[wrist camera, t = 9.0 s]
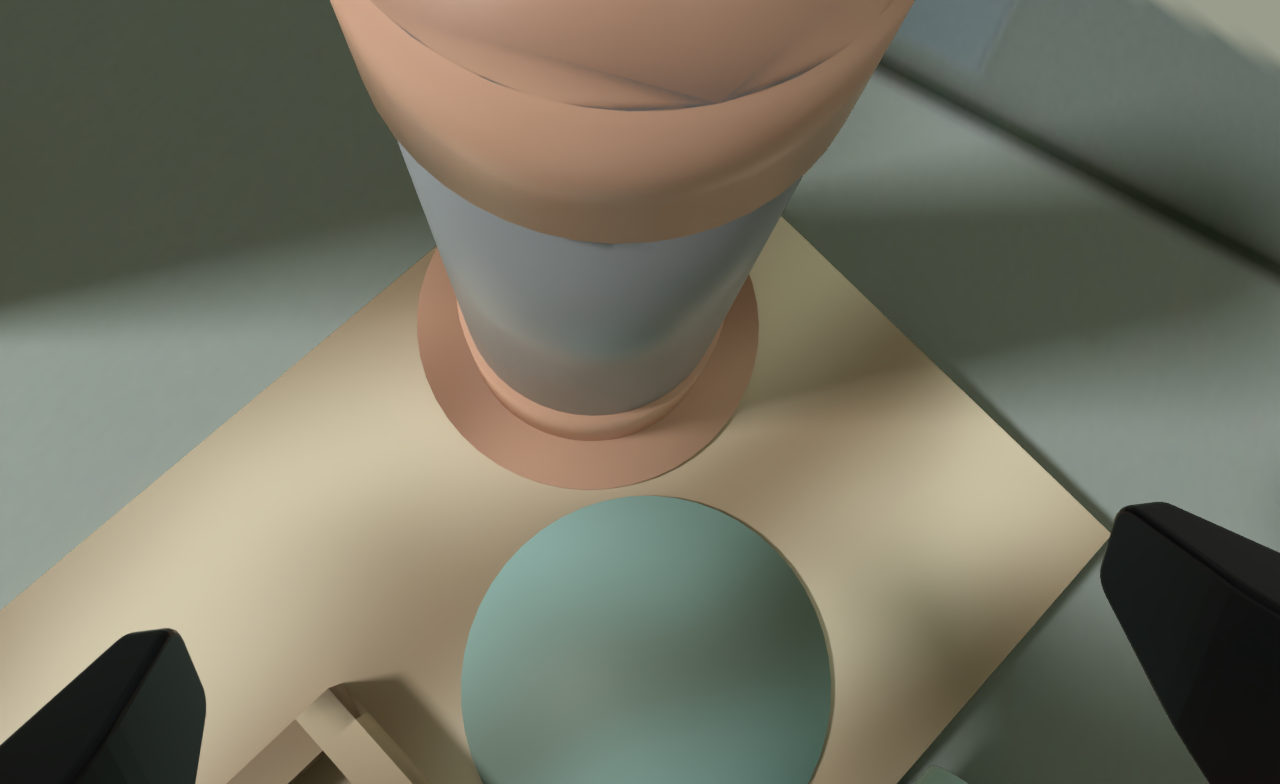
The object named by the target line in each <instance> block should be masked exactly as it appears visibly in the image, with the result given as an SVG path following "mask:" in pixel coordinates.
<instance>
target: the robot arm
mask: <svg viewBox="0 0 1280 784" xmlns="http://www.w3.org/2000/svg"><path fill="white" fill-rule="evenodd" d="M1100 578H1101V584H1102V587H1103V590H1104V593H1105V595H1106V597H1107V599H1108V601H1109V603H1110V605H1111V607H1112V609H1113V611H1114V613H1115V615H1116V617H1117V619H1118V621H1119V622H1120V624H1121V626H1122V628H1123V630H1124V632H1125V634H1126V636H1127V638H1128V640H1129V642H1130V644H1131V646H1132V648H1133V650H1134V652H1135V654H1136V656H1137V658H1138V660H1139V661H1140V663H1141V665H1142V667H1143V669H1144V671H1145V673H1146V675H1147V677H1148V679H1149V681H1150V683H1151V685H1152V687H1153V689H1154V691H1155V693H1156V695H1157V697H1158V699H1159V701H1160V702H1161V704H1162V706H1163V708H1164V710H1165V712H1166V714H1167V715H1168V717H1169V719H1170V721H1171V723H1172V724H1173V726H1174V728H1175V730H1176V731H1177V733H1178V735H1179V736H1180V738H1181V740H1182V741H1183V743H1184V744H1185V746H1186V748H1187V749H1188V751H1189V753H1190V754H1191V756H1192V757H1193V759H1194V760H1195V762H1196V763H1197V765H1198V767H1199V768H1200V770H1201V771H1202V773H1203V774H1204V776H1205V777H1206V779H1207V781H1208V782H1209V784H1280V553H1279V552H1277V551H1274V550H1272V549H1270V548H1268V547H1265V546H1263V545H1261V544H1259V543H1256V542H1254V541H1252V540H1250V539H1247V538H1245V537H1243V536H1241V535H1239V534H1236V533H1234V532H1232V531H1230V530H1227V529H1225V528H1223V527H1221V526H1218V525H1216V524H1214V523H1212V522H1209V521H1207V520H1205V519H1203V518H1201V517H1198V516H1196V515H1194V514H1192V513H1189V512H1187V511H1185V510H1183V509H1180V508H1178V507H1176V506H1174V505H1171V504H1169V503H1165V502H1152V503H1144V504H1136V505H1129V506H1126V507H1124V508H1122V509H1121V510H1120V511H1119V512H1118V513H1117V515H1116V517H1115V520H1114V523H1113V526H1112V530H1111V533H1110V537H1109V540H1108V543H1107V547H1106V550H1105V554H1104V557H1103V560H1102V564H1101V569H1100ZM205 718H206V696H205V691H204V688H203V685H202V683H201V681H200V678H199V676H198V673H197V671H196V669H195V666H194V664H193V662H192V659H191V657H190V654H189V652H188V650H187V647H186V645H185V643H184V640H183V638H182V637H181V635H180V634H179V633H178V632H177V631H176V630H174V629H171V628H162V629H154V630H146V631H138V632H132V633H129V634H126V635H124V636H122V637H121V638H120V639H118V640H117V641H116V642H115V643H114V644H113V645H111V646H110V647H109V648H108V649H107V650H106V651H105V652H104V653H102V654H101V655H100V656H99V657H98V658H97V659H96V660H95V661H94V662H92V663H91V664H90V665H89V666H88V667H87V668H86V669H85V670H83V671H82V672H81V673H80V674H79V675H78V676H77V677H76V678H75V679H73V680H72V681H71V682H70V683H69V684H68V685H67V686H66V687H64V688H63V689H62V690H61V691H60V692H59V693H58V694H57V695H56V696H54V697H53V698H52V699H51V700H50V701H49V702H48V703H47V704H45V705H44V706H43V707H42V708H41V709H40V710H39V711H38V712H37V713H35V714H34V715H33V716H32V717H31V718H30V719H29V720H28V721H26V722H25V723H24V724H23V725H22V726H21V727H20V728H19V729H18V730H16V731H15V732H14V733H13V734H12V735H11V736H10V737H9V738H7V739H6V740H5V741H4V742H3V743H2V744H1V745H0V784H195V783H196V776H197V770H198V763H199V757H200V751H201V744H202V738H203V731H204V725H205Z"/></svg>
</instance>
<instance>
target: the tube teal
mask: <svg viewBox="0 0 1280 784" xmlns="http://www.w3.org/2000/svg"><path fill="white" fill-rule="evenodd" d="M915 784H968V783H967V782H965V781H964V780H962V779H961V778H959V777H957V776H955V775H954V774H952V773H950V772H949V771H947V770H944V769H942V768H940V767H937V766H930V767H929V768H928V769H927V770H926V772H925V773H924V774H923V775H922V776H921V777H920V779H919V780H918V781H917V782H916V783H915Z"/></svg>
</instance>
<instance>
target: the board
mask: <svg viewBox="0 0 1280 784" xmlns="http://www.w3.org/2000/svg"><path fill="white" fill-rule="evenodd" d="M1109 537H1110V532H1109V531H1108V530H1107V529H1106V528H1105V527H1104V526H1103V525H1102V524H1101V523H1100V522H1099V521H1097V520H1096V519H1095V518H1094V517H1093V516H1092V515H1091V514H1090V513H1089V512H1088V511H1087V510H1086V509H1085V508H1084V507H1083V506H1082V505H1081V504H1080V503H1079V502H1078V501H1077V500H1076V499H1075V498H1074V497H1073V496H1072V495H1070V494H1069V493H1068V492H1067V491H1066V490H1065V489H1064V488H1063V487H1062V486H1061V485H1060V484H1059V483H1058V482H1057V481H1056V480H1055V479H1054V478H1053V477H1052V476H1051V475H1050V474H1049V473H1048V472H1047V471H1046V470H1045V469H1043V468H1042V467H1041V466H1040V465H1039V464H1038V463H1037V462H1036V461H1035V460H1034V459H1033V458H1032V457H1031V456H1030V455H1029V454H1028V453H1027V452H1026V451H1025V450H1024V449H1023V448H1022V447H1021V446H1020V445H1019V444H1018V443H1016V442H1015V441H1014V440H1013V439H1012V438H1011V437H1010V436H1009V435H1008V434H1007V433H1006V432H1005V431H1004V430H1003V429H1002V428H1001V427H1000V426H999V425H998V424H997V423H996V422H995V421H994V420H993V419H992V418H991V417H989V416H988V415H987V414H986V413H985V412H984V411H983V410H982V409H981V408H980V407H979V406H978V405H977V404H976V403H975V402H974V401H973V400H972V399H971V398H970V397H969V396H968V395H967V394H966V393H965V392H964V391H962V390H961V389H960V388H959V387H958V386H957V385H956V384H955V383H954V382H953V381H952V380H951V379H950V378H949V377H948V376H947V375H946V374H945V373H944V372H943V371H942V370H941V369H940V368H939V367H938V366H937V365H935V364H934V363H933V362H932V361H931V360H930V359H929V358H928V357H927V356H926V355H925V354H924V353H923V352H922V351H921V350H920V349H919V348H918V347H917V346H916V345H915V344H914V343H913V342H912V341H911V340H910V339H908V338H907V337H906V336H905V335H904V334H903V333H902V332H901V331H900V330H899V329H898V328H897V327H896V326H895V325H894V324H893V323H892V322H891V321H890V320H889V319H888V318H887V317H886V316H885V315H884V314H883V313H882V312H880V311H879V310H878V309H877V308H876V307H875V306H874V305H873V304H872V303H871V302H870V301H869V300H868V299H867V298H866V297H865V296H864V295H863V294H862V293H861V292H860V291H859V290H858V289H857V288H856V287H855V286H853V285H852V284H851V283H850V282H849V281H848V280H847V279H846V278H845V277H844V276H843V275H842V274H841V273H840V272H839V271H838V270H837V269H836V268H835V267H834V266H833V265H832V264H831V263H830V262H829V261H828V260H826V259H825V258H824V257H823V256H822V255H821V254H820V253H819V252H818V251H817V250H816V249H815V248H814V247H813V246H812V245H811V244H810V243H809V242H808V241H807V240H806V239H805V238H804V237H803V236H802V235H801V234H799V233H798V232H797V231H796V230H795V229H794V228H793V227H792V226H791V225H790V224H789V223H788V222H787V221H786V220H785V219H784V218H783V217H782V216H781V217H780V218H779V220H778V222H777V224H776V226H775V227H774V229H773V231H772V233H771V235H770V237H769V238H768V240H767V242H766V244H765V246H764V248H763V249H762V251H761V253H760V255H759V257H758V258H757V260H756V262H755V264H754V266H753V268H752V269H751V271H750V273H749V275H748V277H747V278H746V280H745V282H744V284H743V286H742V288H741V289H740V291H739V293H738V295H737V297H736V299H735V300H734V302H733V304H732V306H731V308H730V309H729V311H728V313H727V315H726V317H725V319H724V323H723V327H722V330H721V333H720V336H719V339H718V341H717V344H716V346H715V348H714V350H713V352H712V354H711V356H710V358H709V359H708V361H707V363H706V365H705V366H704V368H703V370H702V372H701V373H700V375H699V377H698V378H697V380H696V382H695V383H694V385H693V386H692V388H691V389H690V391H689V392H688V394H687V395H686V396H685V398H684V399H683V400H682V401H681V402H680V403H679V404H678V405H677V407H675V408H674V409H673V410H672V411H671V412H670V413H669V414H667V415H666V416H665V417H664V418H662V419H661V420H659V421H658V422H656V423H654V424H653V425H651V426H649V427H647V428H645V429H643V430H641V431H639V432H637V433H634V434H631V435H627V436H624V437H621V438H616V439H610V440H603V441H579V440H571V439H566V438H561V437H556V436H554V435H551V434H548V433H545V432H542V431H540V430H538V429H536V428H534V427H532V426H530V425H528V424H526V423H525V422H523V421H522V420H520V419H519V418H517V417H516V416H514V415H513V414H512V413H511V412H510V411H509V410H508V409H506V408H505V407H504V406H503V405H502V404H501V403H500V402H499V401H498V399H497V398H496V397H495V396H494V395H493V394H492V392H491V391H490V389H489V388H488V386H487V385H486V383H485V382H484V380H483V378H482V376H481V374H480V372H479V370H478V368H477V366H476V363H475V361H474V358H473V356H472V353H471V351H470V348H469V346H468V343H467V341H466V338H465V336H464V332H463V329H462V326H461V323H460V319H459V313H458V308H457V298H456V295H455V293H454V290H453V287H452V285H451V282H450V279H449V277H448V274H447V271H446V269H445V266H444V264H443V261H442V258H441V256H440V253H439V250H438V248H437V246H436V247H434V248H433V249H432V250H431V251H430V252H428V253H427V254H426V255H425V256H424V257H422V258H421V259H420V260H419V261H418V262H416V263H415V264H414V265H413V266H412V267H410V268H409V269H408V270H407V271H406V272H405V273H403V274H402V275H401V276H400V277H399V278H397V279H396V280H395V281H394V282H393V283H391V284H390V285H389V286H388V287H387V288H385V289H384V290H383V291H382V292H381V293H379V294H378V295H377V296H376V297H375V298H373V299H372V300H371V301H370V302H369V303H367V304H366V305H365V306H364V307H363V308H361V309H360V310H359V311H358V312H357V313H355V314H354V315H353V316H352V317H351V318H350V319H348V320H347V321H346V322H345V323H344V324H342V325H341V326H340V327H339V328H338V329H336V330H335V331H334V332H333V333H332V334H330V335H329V336H328V337H327V338H326V339H324V340H323V341H322V342H321V343H320V344H318V345H317V346H316V347H315V348H314V349H312V350H311V351H310V352H309V353H308V354H306V355H305V356H304V357H303V358H302V359H300V360H299V361H298V362H297V363H296V364H294V365H293V366H292V367H291V368H290V369H289V370H287V371H286V372H285V373H284V374H283V375H281V376H280V377H279V378H278V379H277V380H275V381H274V382H273V383H272V384H271V385H269V386H268V387H267V388H266V389H265V390H263V391H262V392H261V393H260V394H259V395H257V396H256V397H255V398H254V399H253V400H251V401H250V402H249V403H248V404H247V405H245V406H244V407H243V408H242V409H241V410H239V411H238V412H237V413H236V414H235V415H234V416H232V417H231V418H230V419H229V420H228V421H226V422H225V423H224V424H223V425H222V426H220V427H219V428H218V429H217V430H216V431H214V432H213V433H212V434H211V435H210V436H208V437H207V438H206V439H205V440H204V441H202V442H201V443H200V444H199V445H198V446H196V447H195V448H194V449H193V450H192V451H190V452H189V453H188V454H187V455H186V456H184V457H183V458H182V459H181V460H180V461H179V462H177V463H176V464H175V465H174V466H173V467H171V468H170V469H169V470H168V471H167V472H165V473H164V474H163V475H162V476H161V477H159V478H158V479H157V480H156V481H155V482H153V483H152V484H151V485H150V486H149V487H147V488H146V489H145V490H144V491H143V492H141V493H140V494H139V495H138V496H137V497H135V498H134V499H133V500H132V501H131V502H129V503H128V504H127V505H126V506H125V507H124V508H122V509H121V510H120V511H119V512H118V513H116V514H115V515H114V516H113V517H112V518H110V519H109V520H108V521H107V522H106V523H104V524H103V525H102V526H101V527H100V528H98V529H97V530H96V531H95V532H94V533H92V534H91V535H90V536H89V537H88V538H86V539H85V540H84V541H83V542H82V543H80V544H79V545H78V546H77V547H76V548H74V549H73V550H72V551H71V552H70V553H68V554H67V555H66V556H65V557H64V558H63V559H61V560H60V561H59V562H58V563H57V564H55V565H54V566H53V567H52V568H51V569H49V570H48V571H47V572H46V573H45V574H43V575H42V576H41V577H40V578H39V579H37V580H36V581H35V582H34V583H33V584H31V585H30V586H29V587H28V588H27V589H25V590H24V591H23V592H22V593H21V594H19V595H18V596H17V597H16V598H15V599H13V600H12V601H11V602H10V603H9V604H8V605H6V606H5V607H4V608H3V609H2V610H0V745H1V744H2V743H3V742H4V741H5V740H6V739H7V738H9V737H10V736H11V735H12V734H13V733H14V732H15V731H16V730H18V729H19V728H20V727H21V726H22V725H23V724H24V723H25V722H26V721H28V720H29V719H30V718H31V717H32V716H33V715H34V714H35V713H37V712H38V711H39V710H40V709H41V708H42V707H43V706H44V705H45V704H47V703H48V702H49V701H50V700H51V699H52V698H53V697H54V696H56V695H57V694H58V693H59V692H60V691H61V690H62V689H63V688H64V687H66V686H67V685H68V684H69V683H70V682H71V681H72V680H73V679H75V678H76V677H77V676H78V675H79V674H80V673H81V672H82V671H83V670H85V669H86V668H87V667H88V666H89V665H90V664H91V663H92V662H94V661H95V660H96V659H97V658H98V657H99V656H100V655H101V654H102V653H104V652H105V651H106V650H107V649H108V648H109V647H110V646H111V645H113V644H114V643H115V642H116V641H117V640H118V639H120V638H121V637H122V636H124V635H126V634H129V633H132V632H138V631H146V630H154V629H162V628H171V629H174V630H176V631H177V632H178V633H179V634H180V635H181V637H182V638H183V640H184V643H185V645H186V647H187V650H188V652H189V654H190V657H191V659H192V662H193V664H194V666H195V669H196V671H197V673H198V676H199V678H200V681H201V683H202V685H203V688H204V691H205V696H206V718H205V725H204V731H203V738H202V744H201V751H200V757H199V763H198V770H197V776H196V783H195V784H897V783H898V782H899V780H900V779H901V778H902V777H903V776H904V775H905V773H906V772H907V771H908V770H909V769H910V768H911V767H912V765H913V764H914V763H915V762H916V761H917V760H918V758H919V757H920V756H921V755H922V754H923V753H924V751H925V750H926V749H927V748H928V747H929V746H930V745H931V743H932V742H933V741H934V740H935V739H936V738H937V736H938V735H939V734H940V733H941V732H942V731H943V729H944V728H945V727H946V726H947V725H948V724H949V723H950V721H951V720H952V719H953V718H954V717H955V716H956V714H957V713H958V712H959V711H960V710H961V709H962V707H963V706H964V705H965V704H966V703H967V702H968V701H969V699H970V698H971V697H972V696H973V695H974V694H975V692H976V691H977V690H978V689H979V688H980V687H981V685H982V684H983V683H984V682H985V681H986V680H987V679H988V677H989V676H990V675H991V674H992V673H993V672H994V670H995V669H996V668H997V667H998V666H999V665H1000V663H1001V662H1002V661H1003V660H1004V659H1005V658H1006V657H1007V655H1008V654H1009V653H1010V652H1011V651H1012V650H1013V648H1014V647H1015V646H1016V645H1017V644H1018V643H1019V641H1020V640H1021V639H1022V638H1023V637H1024V636H1025V635H1026V633H1027V632H1028V631H1029V630H1030V629H1031V628H1032V626H1033V625H1034V624H1035V623H1036V622H1037V621H1038V619H1039V618H1040V617H1041V616H1042V615H1043V614H1044V612H1045V611H1046V610H1047V609H1048V608H1049V607H1050V606H1051V604H1052V603H1053V602H1054V601H1055V600H1056V599H1057V597H1058V596H1059V595H1060V594H1061V593H1062V592H1063V590H1064V589H1065V588H1066V587H1067V586H1068V585H1069V584H1070V582H1071V581H1072V580H1073V579H1074V578H1075V577H1076V575H1077V574H1078V573H1079V572H1080V571H1081V570H1082V568H1083V567H1084V566H1085V565H1086V564H1087V563H1088V562H1089V560H1090V559H1091V558H1092V557H1093V556H1094V555H1095V553H1096V552H1097V551H1098V550H1099V549H1100V548H1101V546H1102V545H1103V544H1104V543H1105V542H1106V541H1107V540H1108V538H1109Z"/></svg>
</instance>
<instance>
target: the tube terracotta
mask: <svg viewBox="0 0 1280 784" xmlns="http://www.w3.org/2000/svg"><path fill="white" fill-rule="evenodd" d="M914 1H915V0H330V2H331V4H332V7H333V9H334V12H335V14H336V17H337V19H338V22H339V24H340V27H341V29H342V32H343V34H344V37H345V39H346V42H347V44H348V47H349V49H350V52H351V54H352V57H353V59H354V62H355V64H356V67H357V69H358V71H359V74H360V76H361V79H362V81H363V83H364V85H365V87H366V89H367V92H368V94H369V96H370V98H371V100H372V102H373V104H374V106H375V108H376V110H377V111H378V113H379V114H380V116H381V117H382V119H383V120H384V122H385V123H386V125H387V126H388V128H389V129H390V131H391V132H392V134H393V135H394V137H395V138H396V139H397V142H398V144H399V147H400V150H401V152H402V155H403V158H404V160H405V163H406V166H407V168H408V171H409V173H410V176H411V179H412V181H413V184H414V187H415V189H416V192H417V195H418V197H419V200H420V203H421V205H422V208H423V211H424V213H425V216H426V219H427V221H428V224H429V226H430V229H431V232H432V234H433V237H434V240H435V242H436V245H437V248H438V250H439V253H440V256H441V258H442V261H443V264H444V266H445V269H446V271H447V274H448V277H449V279H450V282H451V285H452V287H453V290H454V293H455V295H456V298H457V308H458V313H459V319H460V323H461V326H462V329H463V332H464V336H465V338H466V341H467V343H468V346H469V348H470V351H471V353H472V356H473V358H474V361H475V363H476V366H477V368H478V370H479V372H480V374H481V376H482V378H483V380H484V382H485V383H486V385H487V386H488V388H489V389H490V391H491V392H492V394H493V395H494V396H495V397H496V398H497V399H498V401H499V402H500V403H501V404H502V405H503V406H504V407H505V408H506V409H508V410H509V411H510V412H511V413H512V414H513V415H514V416H516V417H517V418H519V419H520V420H522V421H523V422H525V423H526V424H528V425H530V426H532V427H534V428H536V429H538V430H540V431H542V432H545V433H548V434H551V435H554V436H556V437H561V438H566V439H571V440H579V441H603V440H610V439H616V438H621V437H624V436H627V435H631V434H634V433H637V432H639V431H641V430H643V429H645V428H647V427H649V426H651V425H653V424H654V423H656V422H658V421H659V420H661V419H662V418H664V417H665V416H666V415H667V414H669V413H670V412H671V411H672V410H673V409H674V408H675V407H677V405H678V404H679V403H680V402H681V401H682V400H683V399H684V398H685V396H686V395H687V394H688V392H689V391H690V389H691V388H692V386H693V385H694V383H695V382H696V380H697V378H698V377H699V375H700V373H701V372H702V370H703V368H704V366H705V365H706V363H707V361H708V359H709V358H710V356H711V354H712V352H713V350H714V348H715V346H716V344H717V341H718V339H719V336H720V333H721V330H722V327H723V323H724V319H725V317H726V315H727V313H728V311H729V309H730V308H731V306H732V304H733V302H734V300H735V299H736V297H737V295H738V293H739V291H740V289H741V288H742V286H743V284H744V282H745V280H746V278H747V277H748V275H749V273H750V271H751V269H752V268H753V266H754V264H755V262H756V260H757V258H758V257H759V255H760V253H761V251H762V249H763V248H764V246H765V244H766V242H767V240H768V238H769V237H770V235H771V233H772V231H773V229H774V227H775V226H776V224H777V222H778V220H779V218H780V217H781V215H782V213H783V211H784V209H785V207H786V206H787V204H788V202H789V200H790V198H791V196H792V195H793V193H794V191H795V189H796V187H797V186H798V184H799V182H800V180H801V178H802V176H803V175H804V174H805V173H806V172H807V171H808V170H809V169H810V168H811V167H812V165H813V164H814V163H815V162H816V161H817V160H818V159H819V158H820V157H821V156H822V154H823V153H824V152H825V151H826V150H827V148H828V147H829V145H830V144H831V142H832V141H833V140H834V138H835V137H836V135H837V134H838V132H839V131H840V129H841V128H842V126H843V125H844V123H845V121H846V120H847V118H848V116H849V114H850V113H851V111H852V109H853V107H854V106H855V104H856V102H857V100H858V99H859V97H860V95H861V93H862V92H863V90H864V88H865V86H866V85H867V83H868V81H869V80H870V78H871V76H872V74H873V73H874V71H875V69H876V67H877V66H878V64H879V62H880V60H881V59H882V57H883V55H884V53H885V52H886V50H887V48H888V47H889V45H890V43H891V41H892V40H893V38H894V36H895V34H896V33H897V31H898V29H899V27H900V26H901V24H902V22H903V20H904V19H905V17H906V15H907V14H908V12H909V10H910V8H911V7H912V5H913V3H914Z"/></svg>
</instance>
